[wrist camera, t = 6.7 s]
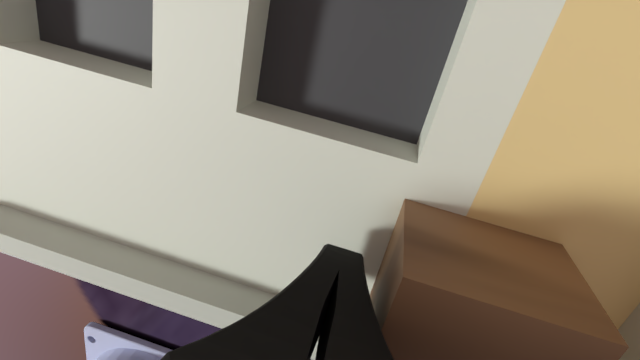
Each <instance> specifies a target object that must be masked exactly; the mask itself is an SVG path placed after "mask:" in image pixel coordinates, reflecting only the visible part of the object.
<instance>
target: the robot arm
mask: <svg viewBox="0 0 640 360" xmlns="http://www.w3.org/2000/svg"><path fill="white" fill-rule="evenodd" d="M84 337H85V346H86V356H87V360H310V358H311V356H312V353H313V351H314V348H315V346H316V343H317V340H318V338H319V341H318V346H317V352H316V358H315V360H394V358H393V356H392V354H391V352H390V350H389V348H388V345H387V343H386V341H385V339H384V336H383V334H382V331H381V328H380V326H379V323H378V320H377V317H376V314H375V311H374V308H373V305H372V301H371V297H370V293H369V290H368V285H367V281H366V275H365V269H364V258H363V256H362V254H360V253H357V252H354V251H351V250H347V249H344V248H341V247H338V246H334V245H331V244H326V245H324V246H323V248H322V250H321V251H320V253H319V254H318V255H317V257H316V258H315V259H314V260H313V261H312V262H311V264H310V265H309V266H308V267H307V268H306V269H305V270H304V271H303V272H302V273H301V274H300V275H299V276H298V277H297V278H296V279H295V280H294V281H292V282H291V283H290V284H289V285H288V286H287V287H285V288H284V289H283V290H282V291H281V292H280V293H278V294H277V295H276V296H274V297H273V298H272V299H270V300H269V301H268V302H266V303H265V304H263V305H262V306H261V307H259V308H258V309H256V310H254V311H253V312H251V313H250V314H248V315H247V316H245V317H243V318H242V319H240V320H238V321H236V322H235V323H233V324H231V325H229V326H227V327H225V328H223V329H221V330H219V331H217V332H215V333H213V334H211V335H209V336H207V337H204V338H202V339H200V340H197V341H195V342H192V343H190V344H187V345H185V346H182V347H180V348H177V349H175V350H171V349H169V348H166V347H163V346H160V345H157V344H155V343H152V342H149V341H146V340H143V339H141V338H138V337H135V336H132V335H129V334H127V333H124V332H121V331H118V330H115V329H112V328H110V327H107V326H104V325H101V324H98V323H95V322H90V323H89V324H88V325H87V326H86V327H85V328H84Z"/></svg>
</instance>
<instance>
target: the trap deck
mask: <svg viewBox="0 0 640 360" xmlns="http://www.w3.org/2000/svg"><path fill="white" fill-rule="evenodd" d="M404 199H408V200H411V201H415V202H418V203H422V204H425V205H429V206H432V207H436V208H439V209H442V210H446V211H449V212H453V213H456V214H460V215H463V216H466V217H470V218H473V219H477V220H480V221H484V222H487V223H491V224H494V225H497V226H501V227H504V228H508V229H511V230H515V231H518V232H521V233H525V234H528V235H532V236H535V237H539V238H542V239H546V240H549V241H552V242H556V243H559V244H562V245H563V246H564V248H565V249H566V251H567V253H568V254H569V256H570V257H571V259H572V260H573V262H574V263H575V265H576V266H577V268H578V269H579V271H580V273H581V274H582V276H583V277H584V279H585V280H586V282H587V283H588V285H589V286H590V288H591V289H592V291H593V293H594V294H595V296H596V297H597V299H598V300H599V302H600V303H601V305H602V306H603V308H604V309H605V311H606V313H607V314H608V316H609V317H610V319H611V320H612V322H613V323H614V325H615V326H616V328H617V329H618V331H619V333H620V334H621V336H622V337H623V339H624V340H625V342H626V343H627V345H628V346H629V348H628V349H627V350H626V352H625V353H624V354H623V355H622V356H621V358H620V359H619V360H640V0H0V252H2V253H5V254H8V255H10V256H13V257H16V258H19V259H22V260H25V261H28V262H31V263H34V264H37V265H40V266H42V267H45V268H48V269H51V270H54V271H57V272H60V273H63V274H66V275H68V276H71V277H74V278H77V279H80V280H83V281H86V282H89V283H91V284H94V285H97V286H100V287H103V288H106V289H109V290H112V291H115V292H118V293H120V294H123V295H126V296H129V297H132V298H135V299H138V300H141V301H144V302H146V303H149V304H152V305H155V306H158V307H161V308H164V309H167V310H170V311H173V312H175V313H178V314H181V315H184V316H187V317H190V318H193V319H196V320H199V321H202V322H204V323H207V324H210V325H213V326H216V327H219V328H222V329H223V328H225V327H227V326H229V325H231V324H233V323H235V322H236V321H238V320H240V319H242V318H243V317H245V316H247V315H248V314H250V313H251V312H253V311H254V310H256V309H258V308H259V307H261V306H262V305H263V304H265V303H266V302H268V301H269V300H270V299H272V298H273V297H274V296H276V295H277V294H278V293H280V292H281V291H282V290H283V289H284V288H285V287H287V286H288V285H289V284H290V283H291V282H292V281H294V280H295V279H296V278H297V277H298V276H299V275H300V274H301V273H302V272H303V271H304V270H305V269H306V268H307V267H308V266H309V265H310V264H311V262H312V261H313V260H314V259H315V258H316V257H317V255H318V254H319V253H320V251H321V250H322V248H323V246H324V245H326V244H331V245H334V246H338V247H341V248H344V249H347V250H351V251H354V252H357V253H360V254H362V256H363V258H364V269H365V275H366V281H367V285H368V290H369V293H371V290H372V287H373V284H374V282H375V279H376V276H377V273H378V271H379V268H380V265H381V262H382V260H383V257H384V254H385V251H386V249H387V246H388V243H389V240H390V238H391V235H392V232H393V229H394V227H395V224H396V221H397V218H398V216H399V213H400V210H401V207H402V205H403V202H404ZM318 341H319V338H318V340H317V343H316V346H315V348H314V351H313V353H312V356H311V358H310V359H312V360H315V358H316V352H317V346H318Z"/></svg>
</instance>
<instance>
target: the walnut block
mask: <svg viewBox="0 0 640 360" xmlns="http://www.w3.org/2000/svg"><path fill="white" fill-rule="evenodd" d="M370 297H371V301H372V305H373V308H374V311H375V314H376V317H377V320H378V323H379V326H380V328H381V331H382V334H383V336H384V339H385V341H386V343H387V345H388V348H389V350H390V352H391V354H392V356H393V358H394V360H619V359H620V358H621V356H622V355H623V354H624V353H625V352H626V350H627V349H628V348H629V346H628V345H627V343H626V342H625V340H624V339H623V337H622V336H621V334H620V333H619V331H618V329H617V328H616V326H615V325H614V323H613V322H612V320H611V319H610V317H609V316H608V314H607V313H606V311H605V309H604V308H603V306H602V305H601V303H600V302H599V300H598V299H597V297H596V296H595V294H594V293H593V291H592V289H591V288H590V286H589V285H588V283H587V282H586V280H585V279H584V277H583V276H582V274H581V273H580V271H579V269H578V268H577V266H576V265H575V263H574V262H573V260H572V259H571V257H570V256H569V254H568V253H567V251H566V249H565V248H564V246H563V245H562V244H559V243H556V242H552V241H549V240H546V239H542V238H539V237H535V236H532V235H528V234H525V233H521V232H518V231H515V230H511V229H508V228H504V227H501V226H497V225H494V224H491V223H487V222H484V221H480V220H477V219H473V218H470V217H466V216H463V215H460V214H456V213H453V212H449V211H446V210H442V209H439V208H436V207H432V206H429V205H425V204H422V203H418V202H415V201H411V200H408V199H404V202H403V205H402V207H401V210H400V213H399V216H398V218H397V221H396V224H395V227H394V229H393V232H392V235H391V238H390V240H389V243H388V246H387V249H386V251H385V254H384V257H383V260H382V262H381V265H380V268H379V271H378V273H377V276H376V279H375V282H374V284H373V287H372V290H371V293H370Z"/></svg>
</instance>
